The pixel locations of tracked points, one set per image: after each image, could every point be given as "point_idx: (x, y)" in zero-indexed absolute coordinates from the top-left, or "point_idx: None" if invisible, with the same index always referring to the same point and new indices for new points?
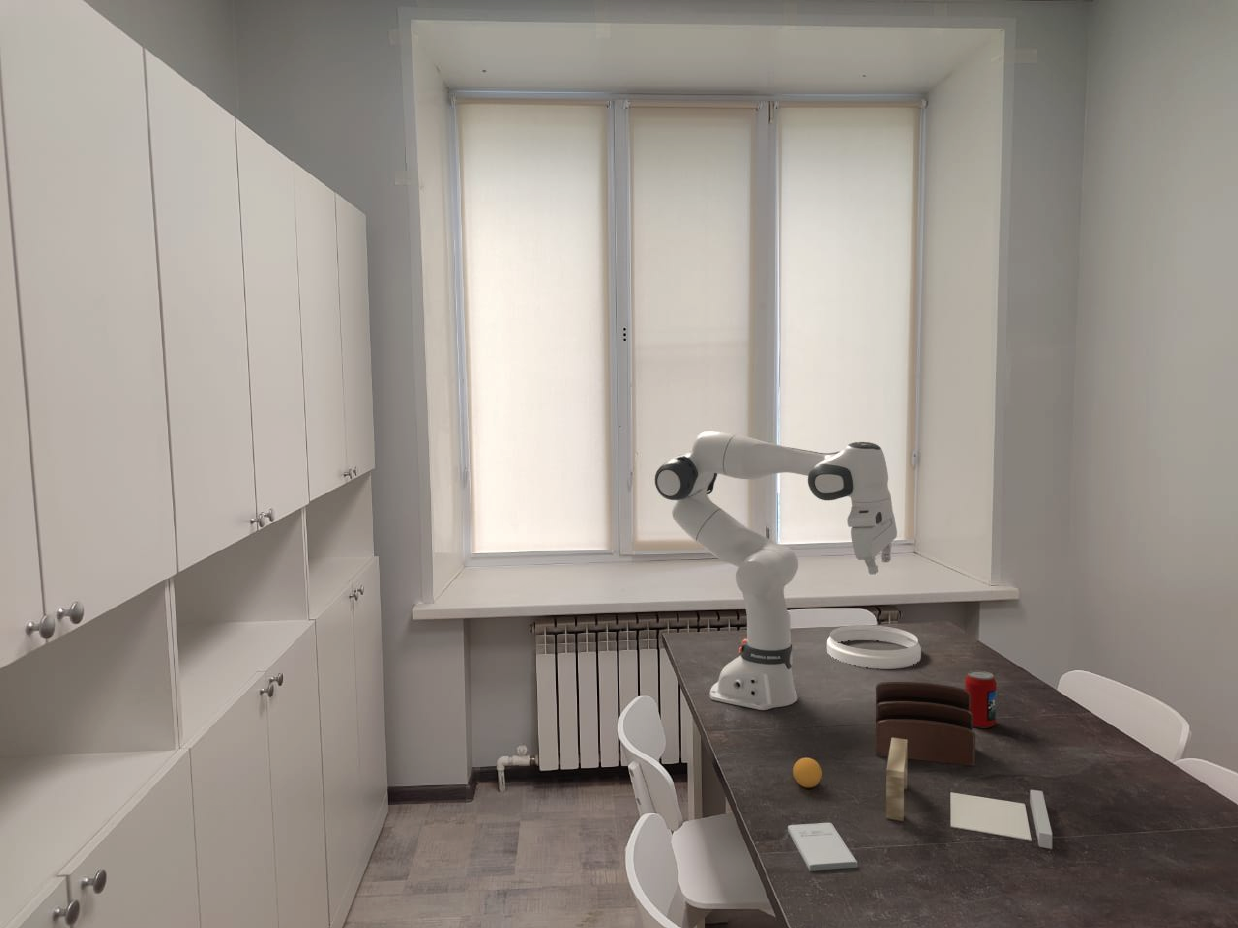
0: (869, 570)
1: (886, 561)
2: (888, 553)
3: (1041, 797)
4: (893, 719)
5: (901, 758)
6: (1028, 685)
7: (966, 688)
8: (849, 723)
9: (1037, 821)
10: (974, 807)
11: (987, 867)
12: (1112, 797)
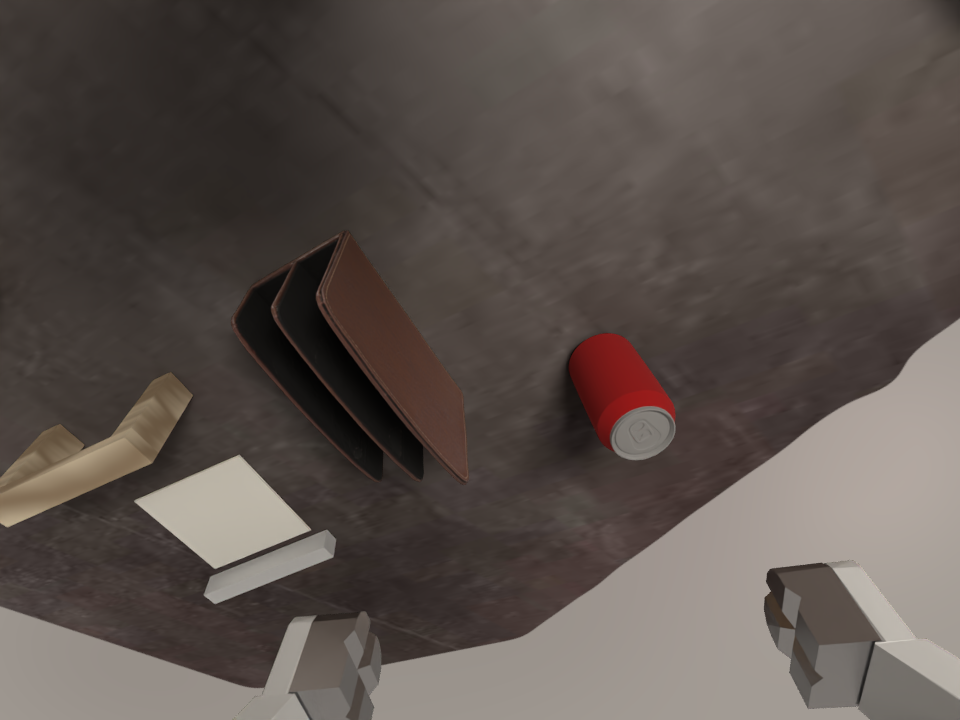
0: (281, 658)
1: (767, 609)
2: (870, 709)
3: (312, 562)
4: (260, 363)
5: (54, 498)
6: (906, 334)
7: (604, 390)
8: (364, 120)
9: (232, 584)
10: (227, 496)
11: (91, 564)
12: (438, 576)
